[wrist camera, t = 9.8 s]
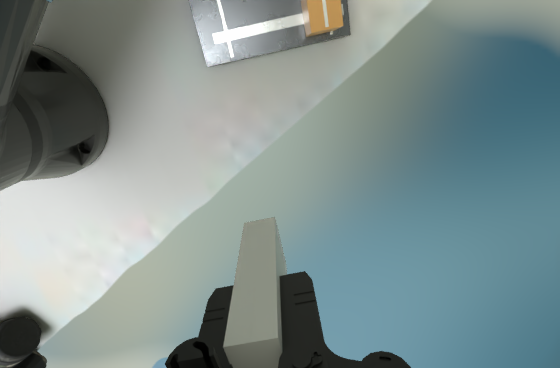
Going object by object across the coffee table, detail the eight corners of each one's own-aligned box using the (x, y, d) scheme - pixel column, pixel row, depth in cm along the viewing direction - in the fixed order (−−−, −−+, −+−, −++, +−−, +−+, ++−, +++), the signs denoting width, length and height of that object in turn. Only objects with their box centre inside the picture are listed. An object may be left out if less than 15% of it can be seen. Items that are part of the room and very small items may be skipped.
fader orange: (306, 37, 31) (311, 32, 27) (300, -2, 30) (305, -13, 25) (333, 30, 31) (343, 25, 27) (329, -9, 29) (338, -21, 25)
